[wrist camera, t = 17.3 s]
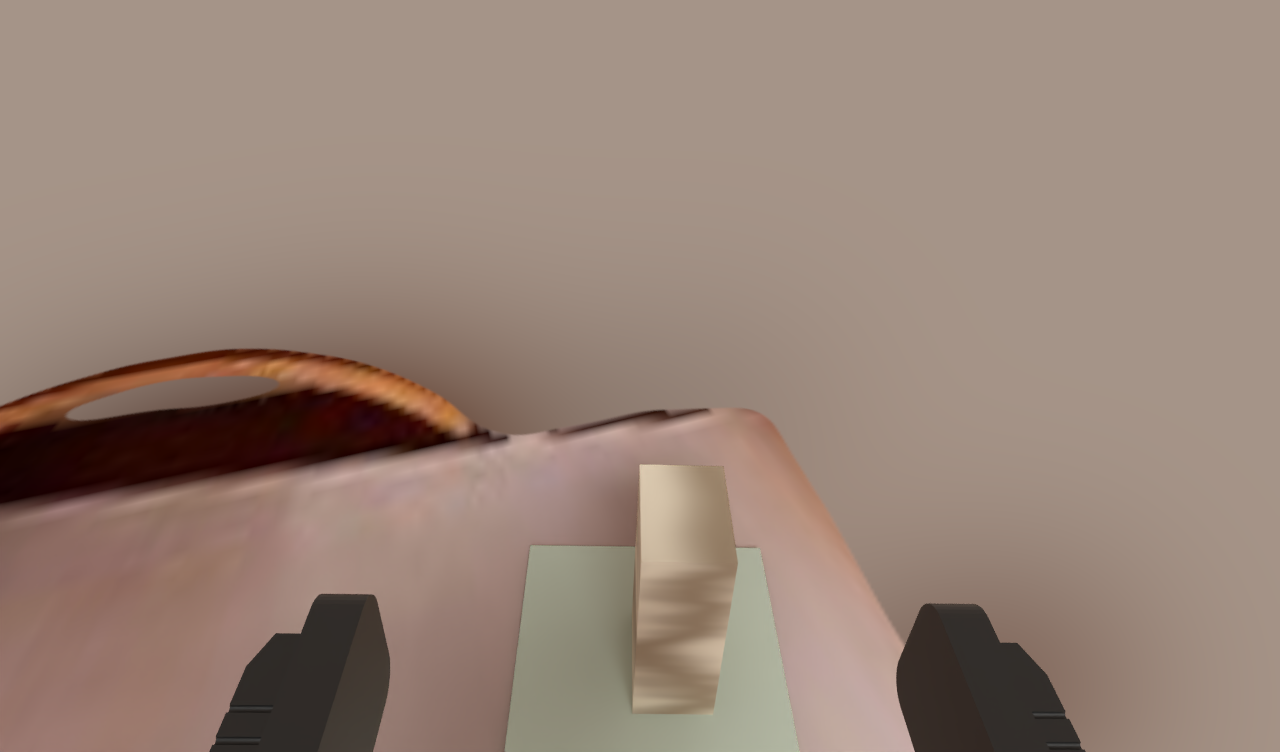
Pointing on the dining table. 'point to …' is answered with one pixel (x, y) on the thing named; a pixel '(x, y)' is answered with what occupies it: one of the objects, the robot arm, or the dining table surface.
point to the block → (681, 588)
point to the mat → (602, 664)
